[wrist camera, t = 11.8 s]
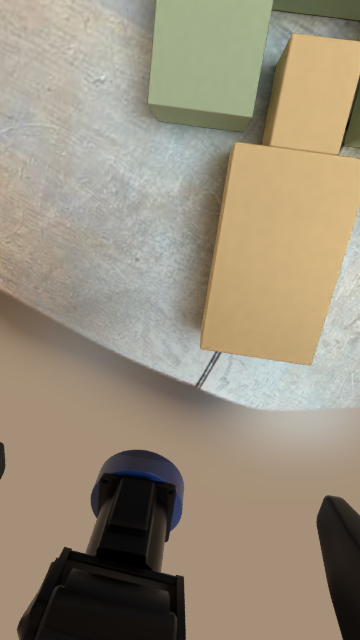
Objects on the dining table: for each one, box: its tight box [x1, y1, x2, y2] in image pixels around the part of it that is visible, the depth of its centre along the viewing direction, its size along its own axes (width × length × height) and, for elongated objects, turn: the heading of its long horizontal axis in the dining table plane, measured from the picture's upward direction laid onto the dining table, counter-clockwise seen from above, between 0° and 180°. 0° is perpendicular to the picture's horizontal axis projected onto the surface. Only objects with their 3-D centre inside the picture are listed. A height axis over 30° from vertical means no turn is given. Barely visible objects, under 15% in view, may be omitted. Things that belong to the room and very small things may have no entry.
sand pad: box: [200, 33, 360, 366], centre depth 16 cm, size 14×6×3 cm, turn 172°
